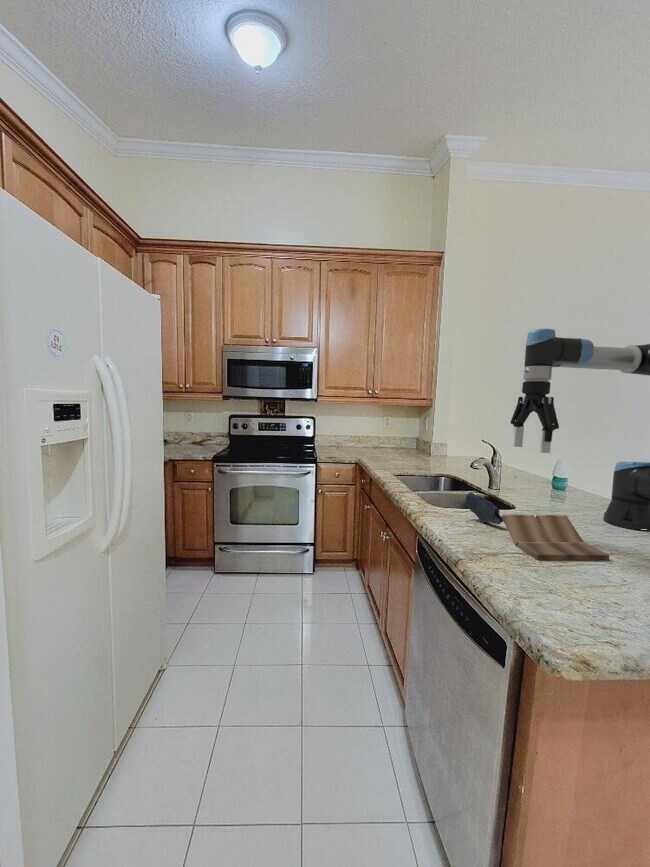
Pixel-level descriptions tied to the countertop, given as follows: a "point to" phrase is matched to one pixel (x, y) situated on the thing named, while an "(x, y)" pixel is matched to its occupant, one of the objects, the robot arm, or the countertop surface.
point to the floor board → (562, 551)
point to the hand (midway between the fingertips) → (530, 449)
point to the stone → (483, 509)
